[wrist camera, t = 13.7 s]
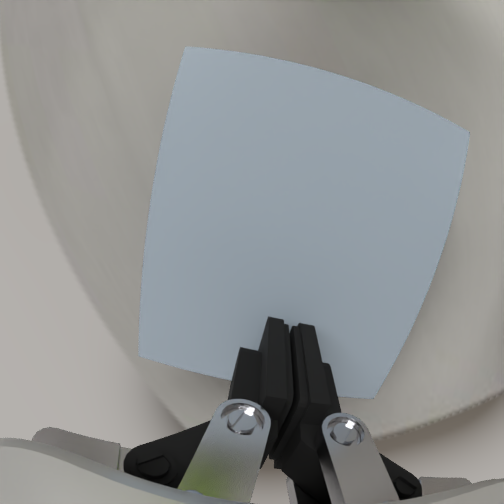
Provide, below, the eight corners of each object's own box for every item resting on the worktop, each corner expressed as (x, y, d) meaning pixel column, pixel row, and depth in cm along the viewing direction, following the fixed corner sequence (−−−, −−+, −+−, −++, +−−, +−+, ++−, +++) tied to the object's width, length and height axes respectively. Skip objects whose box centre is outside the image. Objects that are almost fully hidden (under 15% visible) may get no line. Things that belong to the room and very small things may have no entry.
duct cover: (458, 133, 9) (469, 132, 8) (368, 388, 12) (373, 398, 11) (190, 54, 9) (185, 46, 8) (144, 345, 12) (138, 356, 11)
